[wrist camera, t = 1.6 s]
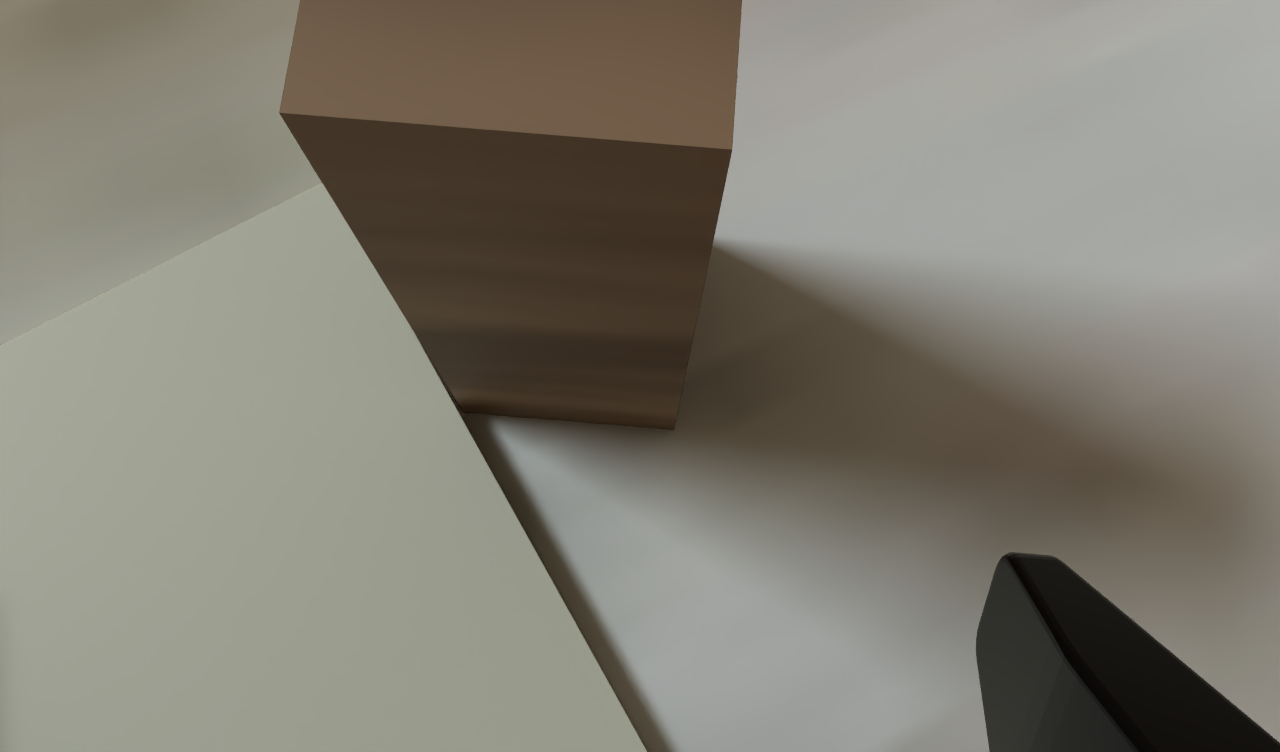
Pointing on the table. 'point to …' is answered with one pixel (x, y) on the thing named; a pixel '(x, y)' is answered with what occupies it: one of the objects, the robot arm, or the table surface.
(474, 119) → the walnut post
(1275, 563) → the table surface
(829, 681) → the table surface
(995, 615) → the robot arm
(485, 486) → the sage board
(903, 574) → the table surface
